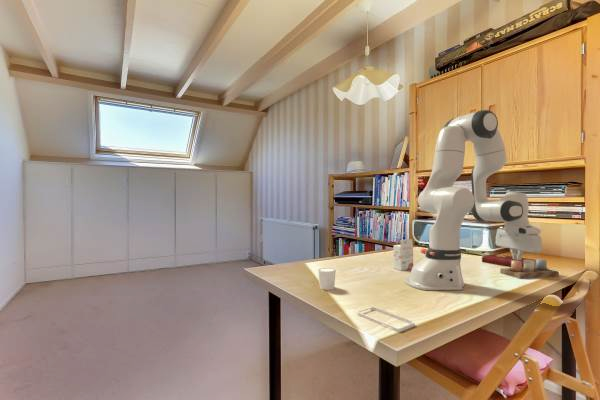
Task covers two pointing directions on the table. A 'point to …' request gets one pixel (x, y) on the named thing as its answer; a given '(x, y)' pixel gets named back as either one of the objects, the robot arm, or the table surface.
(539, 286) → the table surface
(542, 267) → the slate-grey button
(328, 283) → the shot glass
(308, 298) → the table surface
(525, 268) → the cream button
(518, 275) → the button board
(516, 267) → the terracotta button
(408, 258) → the ink cartridge box
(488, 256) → the hardcover book
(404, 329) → the beige elongated ring
